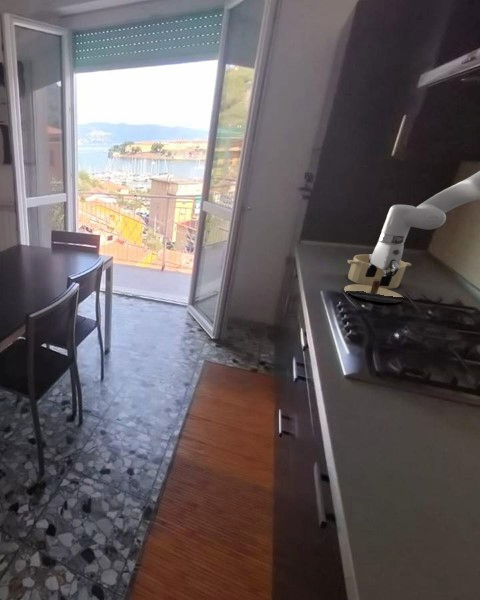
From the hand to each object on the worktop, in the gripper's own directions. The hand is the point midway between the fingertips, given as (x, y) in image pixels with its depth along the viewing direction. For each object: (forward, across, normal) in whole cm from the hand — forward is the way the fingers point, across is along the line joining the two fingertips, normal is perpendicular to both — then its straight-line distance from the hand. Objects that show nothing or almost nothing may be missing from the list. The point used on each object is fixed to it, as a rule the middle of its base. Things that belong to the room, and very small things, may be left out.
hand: (376, 281), depth 140 cm
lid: (+6, 0, 0) cm, 6 cm away
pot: (+6, +18, -9) cm, 21 cm away
